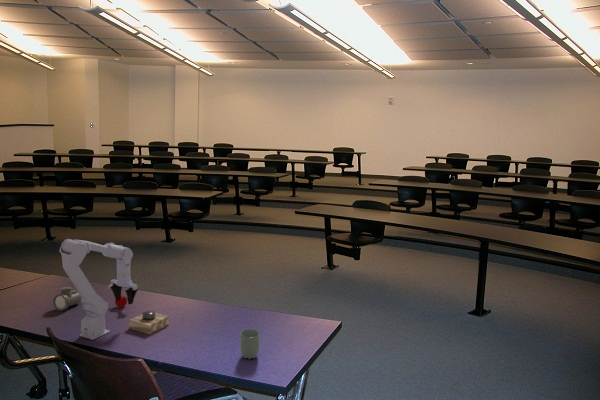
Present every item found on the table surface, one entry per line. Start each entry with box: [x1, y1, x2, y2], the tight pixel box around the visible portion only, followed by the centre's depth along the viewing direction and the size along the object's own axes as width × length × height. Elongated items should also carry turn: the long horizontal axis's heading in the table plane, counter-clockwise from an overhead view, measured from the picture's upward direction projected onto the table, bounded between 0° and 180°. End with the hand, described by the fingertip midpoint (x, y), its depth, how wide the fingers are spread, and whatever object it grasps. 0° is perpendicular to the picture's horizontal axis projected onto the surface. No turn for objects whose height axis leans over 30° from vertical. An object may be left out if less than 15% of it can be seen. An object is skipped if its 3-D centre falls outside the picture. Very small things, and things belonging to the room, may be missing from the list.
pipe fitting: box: [52, 286, 82, 312], centre depth 256 cm, size 12×8×10 cm
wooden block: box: [128, 312, 170, 335], centre depth 236 cm, size 12×12×4 cm
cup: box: [239, 328, 261, 360], centre depth 210 cm, size 8×8×10 cm
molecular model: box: [107, 284, 137, 308], centre depth 258 cm, size 18×6×10 cm, turn 62°
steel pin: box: [142, 310, 156, 321], centre depth 236 cm, size 5×5×6 cm
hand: (124, 302), depth 239 cm, fingers open, 7 cm apart
